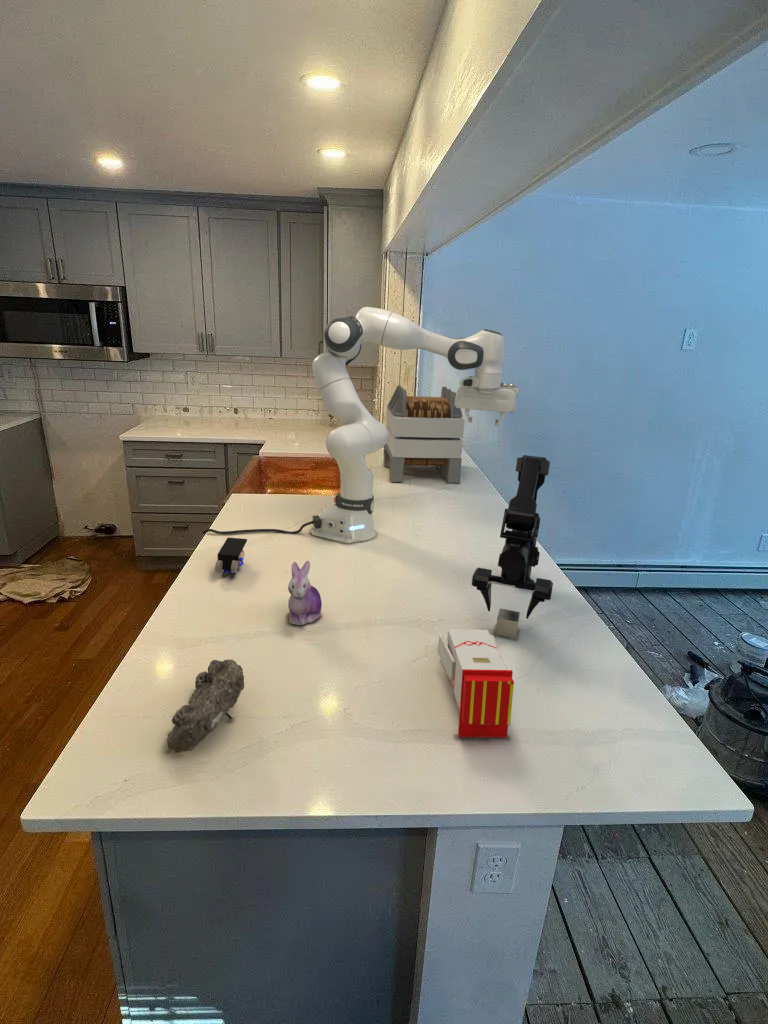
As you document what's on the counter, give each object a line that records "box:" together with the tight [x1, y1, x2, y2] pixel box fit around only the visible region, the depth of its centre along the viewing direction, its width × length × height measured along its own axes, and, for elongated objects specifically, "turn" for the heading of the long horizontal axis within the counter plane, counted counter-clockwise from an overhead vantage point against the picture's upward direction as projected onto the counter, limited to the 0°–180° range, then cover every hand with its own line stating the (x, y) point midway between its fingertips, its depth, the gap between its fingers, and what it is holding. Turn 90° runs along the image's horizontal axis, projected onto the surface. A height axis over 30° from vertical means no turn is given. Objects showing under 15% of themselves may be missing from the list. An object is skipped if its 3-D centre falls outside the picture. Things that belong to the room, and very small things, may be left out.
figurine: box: [287, 560, 323, 626], centre depth 141 cm, size 9×10×15 cm
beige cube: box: [494, 608, 521, 640], centre depth 141 cm, size 5×5×5 cm
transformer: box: [383, 384, 465, 484], centre depth 268 cm, size 34×33×41 cm
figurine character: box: [214, 537, 248, 578], centre depth 166 cm, size 7×8×15 cm
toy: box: [437, 628, 515, 738], centre depth 117 cm, size 12×13×30 cm
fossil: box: [166, 658, 245, 754], centre depth 106 cm, size 22×10×15 cm
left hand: (483, 423), depth 190 cm, fingers open, 8 cm apart
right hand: (507, 614), depth 140 cm, fingers open, 9 cm apart
